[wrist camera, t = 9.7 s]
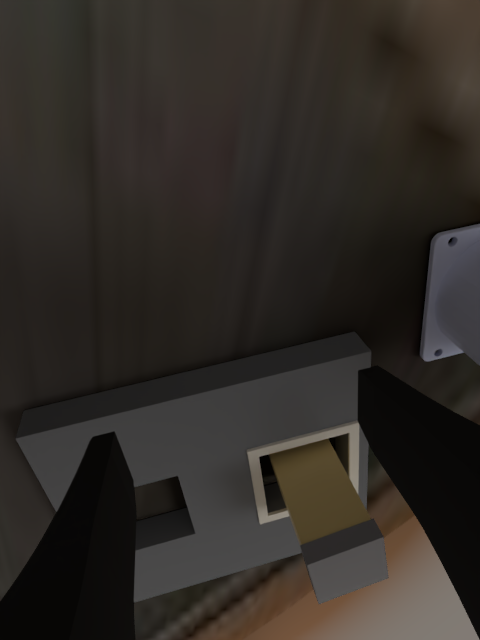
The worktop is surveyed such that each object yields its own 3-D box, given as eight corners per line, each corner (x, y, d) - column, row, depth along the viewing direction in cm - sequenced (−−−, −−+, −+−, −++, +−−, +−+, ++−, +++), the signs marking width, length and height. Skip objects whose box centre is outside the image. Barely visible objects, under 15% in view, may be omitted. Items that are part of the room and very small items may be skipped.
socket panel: (354, 331, 25) (373, 353, 23) (353, 509, 33) (366, 536, 31) (23, 410, 23) (14, 441, 21) (111, 579, 31) (110, 612, 29)
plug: (319, 417, 28) (383, 536, 21) (327, 457, 30) (388, 578, 23) (261, 437, 28) (306, 565, 21) (273, 476, 30) (318, 604, 23)
